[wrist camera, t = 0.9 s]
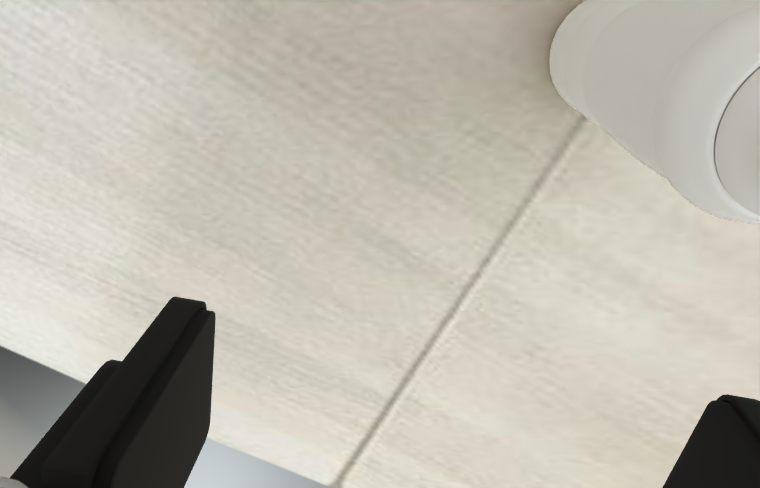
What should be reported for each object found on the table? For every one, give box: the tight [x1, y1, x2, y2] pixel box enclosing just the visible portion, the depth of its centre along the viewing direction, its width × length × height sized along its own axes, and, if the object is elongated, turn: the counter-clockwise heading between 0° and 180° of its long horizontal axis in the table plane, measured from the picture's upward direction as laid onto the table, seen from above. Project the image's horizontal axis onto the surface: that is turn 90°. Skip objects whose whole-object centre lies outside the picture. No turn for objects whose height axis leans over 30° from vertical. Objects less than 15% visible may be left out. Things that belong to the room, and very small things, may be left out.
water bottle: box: [549, 0, 760, 224], centre depth 23 cm, size 7×7×25 cm
